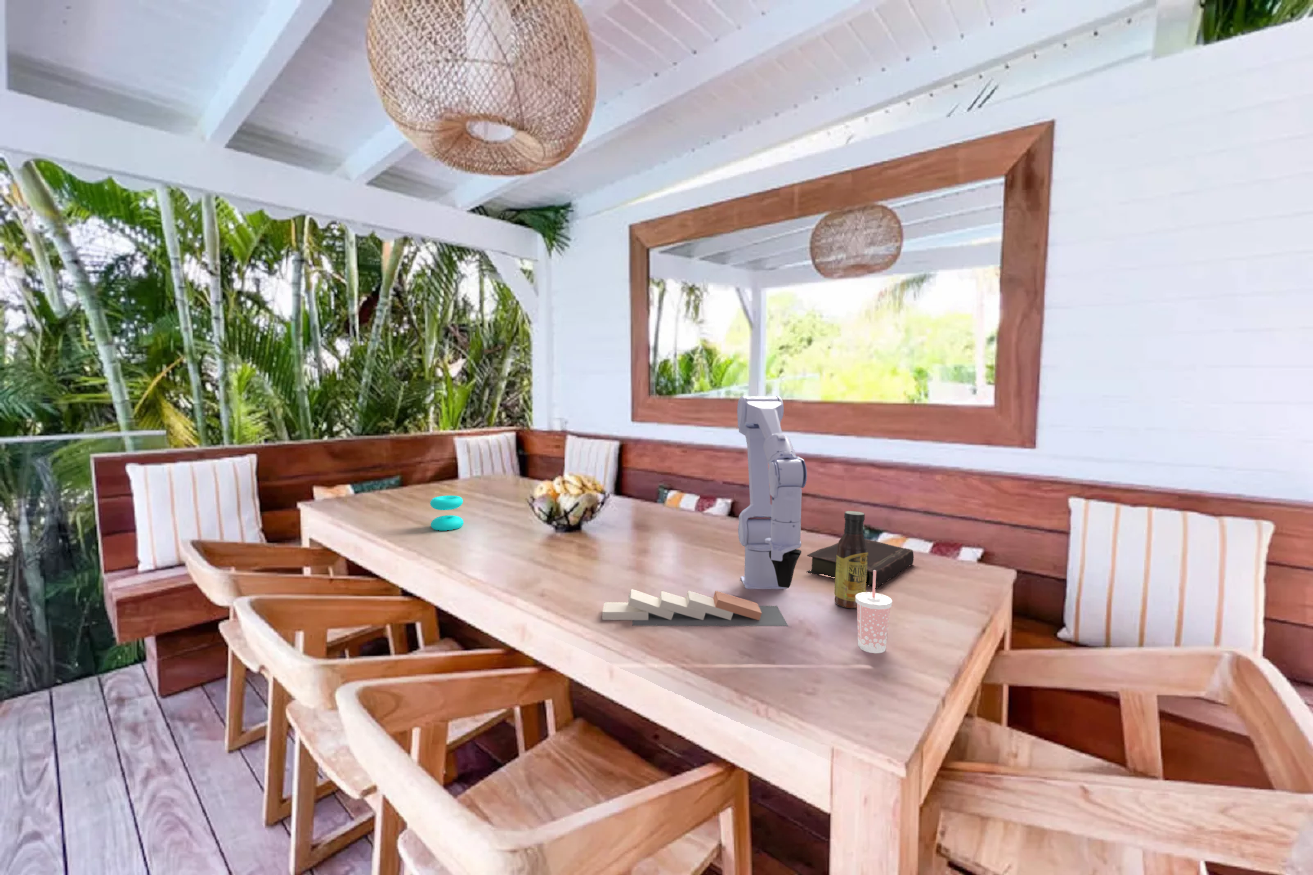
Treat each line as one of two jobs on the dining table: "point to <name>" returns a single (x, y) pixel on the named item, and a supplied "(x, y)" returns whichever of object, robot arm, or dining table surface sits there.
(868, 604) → the beverage cup
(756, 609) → the terracotta domino
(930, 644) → the dining table surface
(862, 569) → the sauce bottle
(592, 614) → the dining table surface
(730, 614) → the domino
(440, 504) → the donuts
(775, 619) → the slate mat
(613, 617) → the domino
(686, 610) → the domino
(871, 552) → the diary
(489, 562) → the dining table surface
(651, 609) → the domino
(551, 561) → the dining table surface
